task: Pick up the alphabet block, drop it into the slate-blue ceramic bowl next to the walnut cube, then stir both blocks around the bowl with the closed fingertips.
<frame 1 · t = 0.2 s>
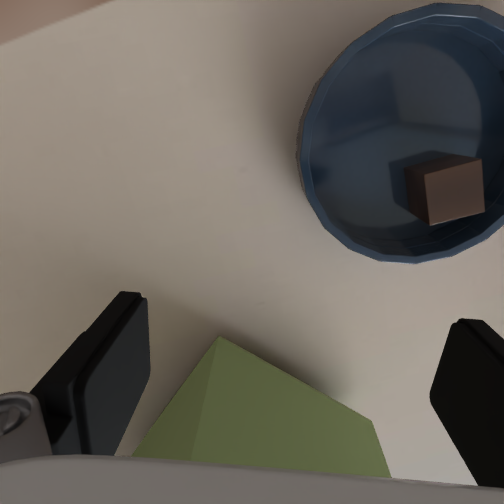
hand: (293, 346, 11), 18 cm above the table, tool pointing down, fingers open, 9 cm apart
container: (242, 422, 35), on the table
walnut cube: (430, 184, 25), point 1 cm above the table, touching bowl
bowl: (401, 145, 25), on the table
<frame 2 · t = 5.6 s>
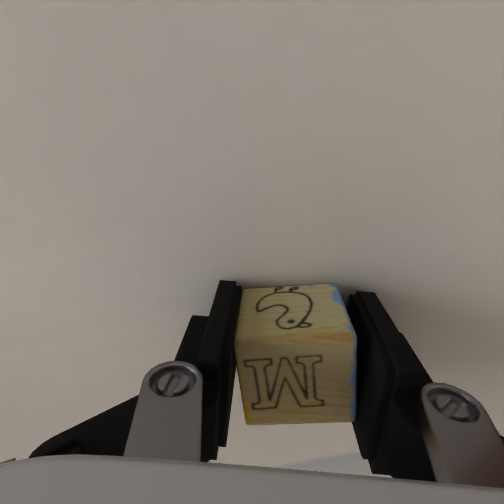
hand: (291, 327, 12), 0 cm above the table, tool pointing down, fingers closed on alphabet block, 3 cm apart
alphabet block: (290, 319, 12), on the table, touching gripper
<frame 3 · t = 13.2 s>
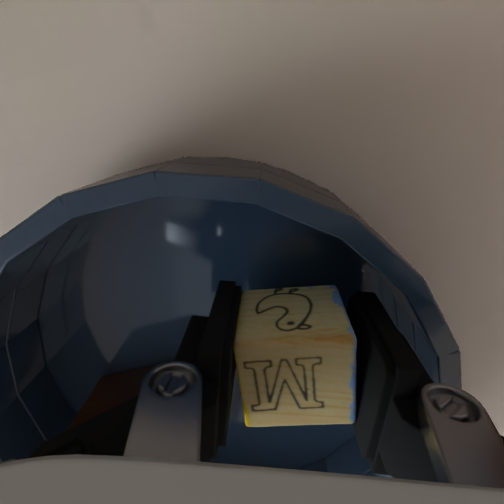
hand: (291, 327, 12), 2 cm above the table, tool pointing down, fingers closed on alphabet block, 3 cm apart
alphabet block: (290, 321, 12), point 1 cm above the table, touching gripper
walnut cube: (156, 399, 15), point 1 cm above the table, touching bowl
bowl: (218, 346, 14), on the table
when the fingers open (5 cm above the table, at t = 23.8 s): alphabet block drops 4 cm, resting on bowl.
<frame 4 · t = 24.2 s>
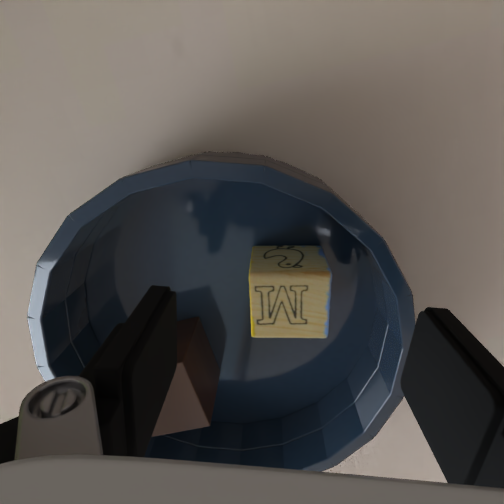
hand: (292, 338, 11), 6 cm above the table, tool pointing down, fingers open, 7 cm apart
alphabet block: (286, 273, 16), resting on bowl
walnut cube: (178, 351, 18), point 1 cm above the table, touching bowl
bowl: (229, 307, 17), on the table
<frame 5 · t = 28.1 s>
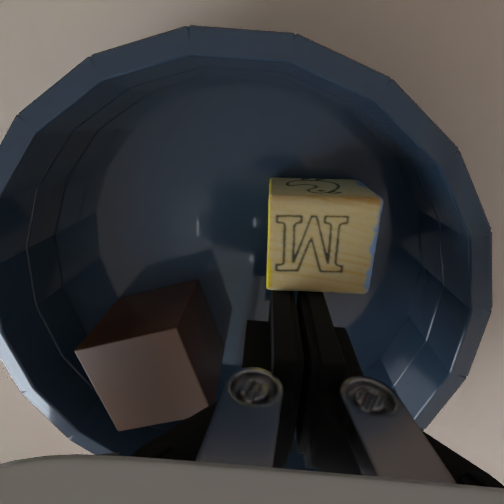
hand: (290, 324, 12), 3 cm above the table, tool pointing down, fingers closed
alphabet block: (309, 218, 13), resting on bowl, touching gripper
walnut cube: (172, 324, 14), point 1 cm above the table, touching bowl
bowl: (236, 269, 14), on the table
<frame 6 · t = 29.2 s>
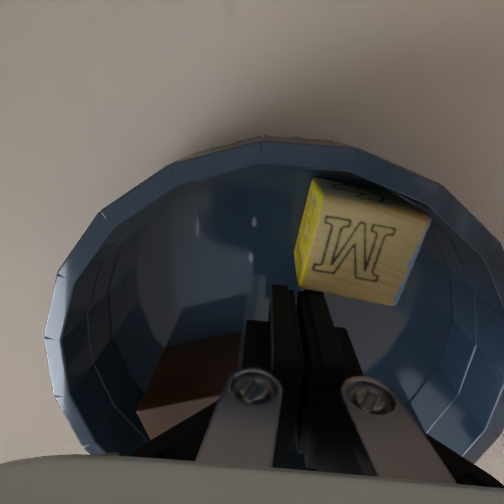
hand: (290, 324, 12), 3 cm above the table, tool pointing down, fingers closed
alphabet block: (340, 223, 13), resting on bowl, touching gripper
walnut cube: (214, 371, 15), point 1 cm above the table, touching bowl
bowl: (275, 321, 15), on the table
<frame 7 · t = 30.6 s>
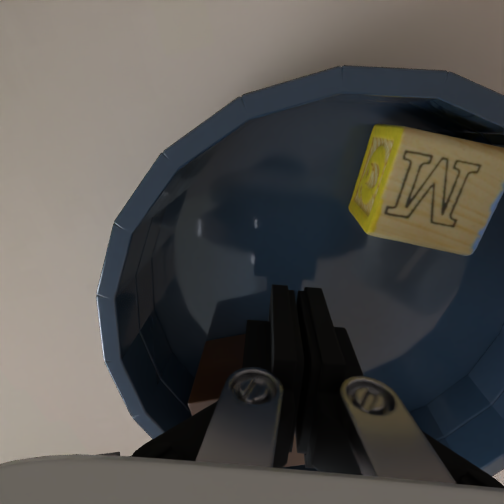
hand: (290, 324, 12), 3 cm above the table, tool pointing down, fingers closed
alphabet block: (399, 177, 12), resting on bowl
walnut cube: (255, 366, 15), point 1 cm above the table, touching bowl, gripper
bowl: (325, 288, 14), on the table
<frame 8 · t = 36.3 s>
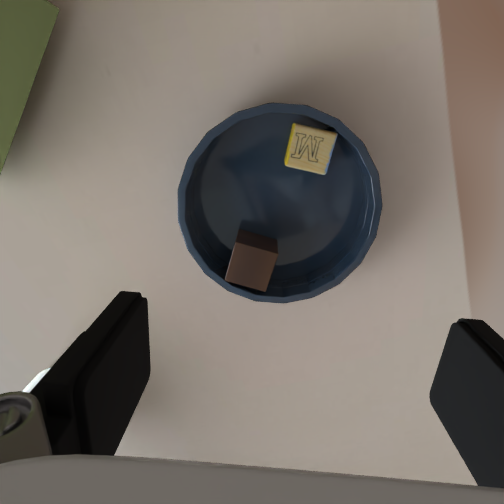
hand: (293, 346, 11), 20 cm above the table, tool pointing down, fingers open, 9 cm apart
alphabet block: (306, 146, 27), resting on bowl
walnut cube: (252, 252, 31), point 1 cm above the table, touching bowl
bowl: (276, 201, 30), on the table
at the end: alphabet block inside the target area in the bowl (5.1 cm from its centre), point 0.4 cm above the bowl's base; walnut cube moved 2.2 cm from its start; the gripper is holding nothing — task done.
